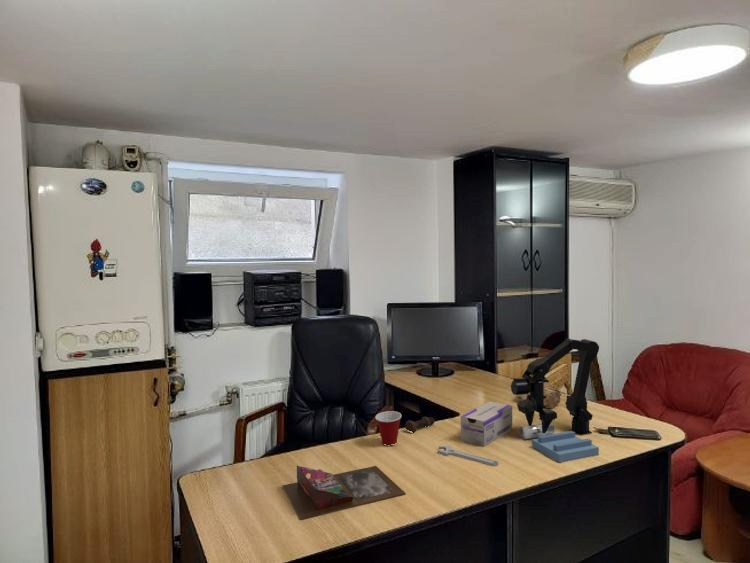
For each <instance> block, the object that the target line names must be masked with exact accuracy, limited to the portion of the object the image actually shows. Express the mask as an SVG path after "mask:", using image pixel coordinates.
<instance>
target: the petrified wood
mask: <svg viewBox="0 0 750 563" xmlns="http://www.w3.org/2000/svg"><path fill="white" fill-rule="evenodd" d="M528 394H530V393H528ZM528 394H520V395H515V399H517V400H519V401H523V400H525V399H527V395H528ZM544 395H545V396H546V399H544V405H546V408H545V409H547V408H548V409H553V408H556V405H557V406H558V405H559V404H561V395H562V394H561V391H560V390H559V389H557V388H555V387H551V386H547V385H544Z"/></svg>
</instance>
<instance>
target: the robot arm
mask: <svg viewBox="0 0 750 563" xmlns="http://www.w3.org/2000/svg"><path fill="white" fill-rule="evenodd" d="M573 350H577V356H578V359H579V360H578V364H577V370H576V375H575V379H574V380H575V381H574V385H573V392H572V393H571V394H567V395H566V400H565V402H564V404H565V408H566V410H567V412H568V413H569V415H570V416H572V418H571V428H569V431H573V432H575V434H577V435H579V436H583V435H588V434H592V433H593V431H591V430H590V421H592V419H593V414H592V413H591V412H590V411H589V410H588V401H587V397H586V392H587V390H588V389H587V388H588V383H589V378H590V372H591V368H592V363H593V361H595V359H596V358H597V356H598V353H599V351H600V345H599V344H598V342H596V341H594V340H591V339H586V338H584V339H583V338H582V339H581V340H580V339H571V338H566V339H564V341H562V342H561V343H559V345H557V346H556V347H555V348H553V349H552V350H550V352H548V353H547V354H545V355H544V356H543V357H541V358H536V359H534V360H532V361H531V362H529V363H528V364H527V368H526V369H525V371H524V372H523V374H522V376H521V377H513V378H512V381H511V384H510V390H511V393H512V394H513V395H514V396H516V395H520V394H528V393H530V394H528V395H527V399H525V400H523V401H520V400H519V401H518V403H516V405H517V410H518V412H519V413H522V414H524V415H525V418H526V421H527V426H531V425H533V422H534V416H535V412H536V413H538V416H539V418H538V419H539V420H540V422H541V424H542V432H543V434H544V433H546V431H547V429H548V427H549V425H550V424H551V423H552V422H553V421H554V420H556V419H558V413H557V411H555V410H553V409H552V408H548V409H547V408H546V405H544V399H546V396H545V395H544V386H545V385H544V384H545V383H549V382H550V381H549V379H547V378H546V375H548V373H549V372H550V370H551V368H552V366H554V365H555V364H556V363H558V362H559V361H560V360H561V359H563V358H565V356H567V355H568V354H569V353H571V352H572V351H573Z"/></svg>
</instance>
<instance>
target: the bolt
mask: <svg viewBox="0 0 750 563" xmlns="http://www.w3.org/2000/svg"><path fill="white" fill-rule="evenodd" d="M435 421H436V420H435V419H434V418H433V417H432V416H430V417H428V416H422V417H421V419H420V420H416V421H413V420H411V419H409V420H407V421H406V422H405V426H404V427H405V430H406V429H407V430H409V431H412V432H414V431H415V432H416V430H418V429H422V428H425V426H426V427H428V426H429V427H431V425H434V424H435ZM429 427H428V428H429ZM407 430H406V431H407Z"/></svg>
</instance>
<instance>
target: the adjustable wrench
mask: <svg viewBox="0 0 750 563" xmlns="http://www.w3.org/2000/svg"><path fill="white" fill-rule="evenodd" d="M440 449H444V450H440ZM445 450H446V451H445ZM439 453H440V454H439ZM437 454H439V455H441V454H442V455H441V456H444V457H448V455H453V457H454V456H455V457H458V458H462V459H464V460H465V459H466V460H470V461H473V462H475V463H476V462H477V463H481V464H485V465H489V466H493V467H498V466H499V461H498V460H495V459H491V458H487V457H482V456H479V455H475V454H472V453H467V452H463V451H459V450H456V449H455V448H453V447H451V446H449V445H439V446H438V449H437Z"/></svg>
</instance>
